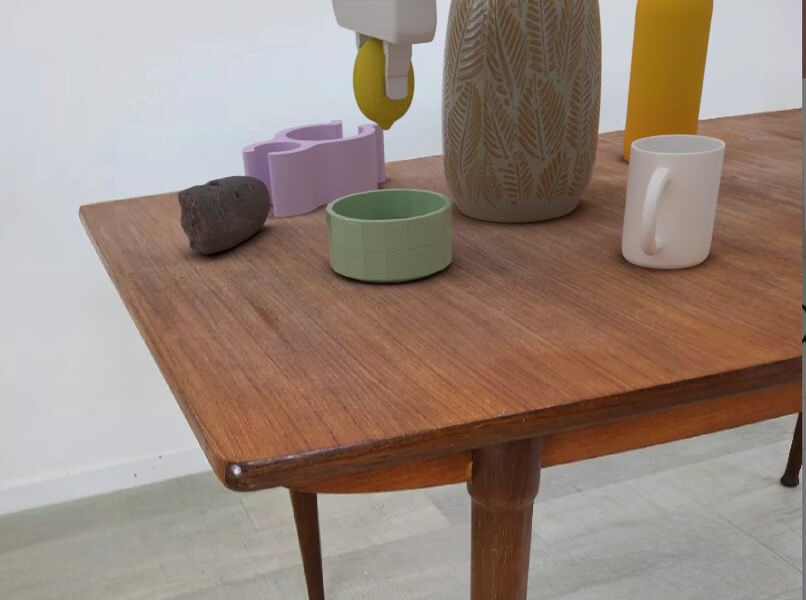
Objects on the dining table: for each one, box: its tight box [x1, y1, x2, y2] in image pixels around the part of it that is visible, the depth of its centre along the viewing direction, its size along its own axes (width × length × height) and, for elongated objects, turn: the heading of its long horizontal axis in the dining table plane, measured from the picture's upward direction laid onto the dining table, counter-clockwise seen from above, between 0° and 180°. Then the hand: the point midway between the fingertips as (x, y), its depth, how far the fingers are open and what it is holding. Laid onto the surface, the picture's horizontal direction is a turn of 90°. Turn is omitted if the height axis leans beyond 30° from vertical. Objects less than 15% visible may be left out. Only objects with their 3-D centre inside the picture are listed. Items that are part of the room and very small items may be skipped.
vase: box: [441, 0, 603, 224], centre depth 101 cm, size 17×17×27 cm
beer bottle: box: [622, 0, 714, 163], centre depth 117 cm, size 9×9×29 cm
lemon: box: [352, 38, 416, 131], centre depth 84 cm, size 6×6×8 cm
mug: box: [621, 134, 726, 270], centre depth 87 cm, size 12×8×10 cm
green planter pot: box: [325, 188, 453, 283], centre depth 92 cm, size 12×12×6 cm
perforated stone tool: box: [177, 175, 271, 255], centre depth 101 cm, size 15×5×7 cm, turn 151°
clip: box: [241, 119, 386, 218], centre depth 117 cm, size 20×12×7 cm, turn 145°
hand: (384, 92), depth 85 cm, fingers closed on lemon, 5 cm apart
